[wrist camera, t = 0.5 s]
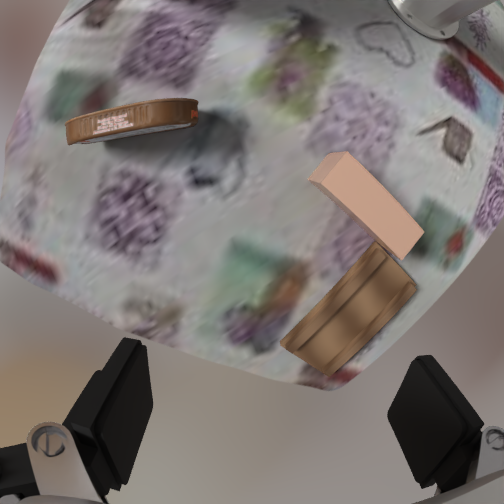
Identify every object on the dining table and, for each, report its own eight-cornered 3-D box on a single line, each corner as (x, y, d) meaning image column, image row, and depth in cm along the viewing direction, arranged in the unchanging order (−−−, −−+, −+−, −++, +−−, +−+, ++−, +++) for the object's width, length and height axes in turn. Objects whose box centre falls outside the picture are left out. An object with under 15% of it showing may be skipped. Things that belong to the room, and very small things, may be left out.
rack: (374, 241, 35) (381, 246, 33) (413, 282, 37) (420, 288, 34) (280, 341, 39) (281, 350, 37) (324, 370, 41) (327, 380, 38)
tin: (204, 105, 30) (189, 88, 22) (205, 131, 31) (189, 121, 23) (88, 125, 31) (50, 119, 23) (89, 148, 32) (50, 148, 23)
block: (328, 153, 32) (347, 151, 25) (396, 219, 34) (424, 231, 28) (306, 179, 33) (320, 183, 26) (377, 242, 35) (401, 260, 28)
